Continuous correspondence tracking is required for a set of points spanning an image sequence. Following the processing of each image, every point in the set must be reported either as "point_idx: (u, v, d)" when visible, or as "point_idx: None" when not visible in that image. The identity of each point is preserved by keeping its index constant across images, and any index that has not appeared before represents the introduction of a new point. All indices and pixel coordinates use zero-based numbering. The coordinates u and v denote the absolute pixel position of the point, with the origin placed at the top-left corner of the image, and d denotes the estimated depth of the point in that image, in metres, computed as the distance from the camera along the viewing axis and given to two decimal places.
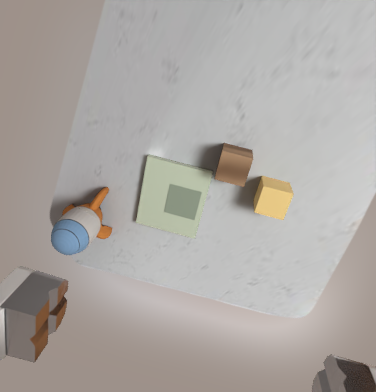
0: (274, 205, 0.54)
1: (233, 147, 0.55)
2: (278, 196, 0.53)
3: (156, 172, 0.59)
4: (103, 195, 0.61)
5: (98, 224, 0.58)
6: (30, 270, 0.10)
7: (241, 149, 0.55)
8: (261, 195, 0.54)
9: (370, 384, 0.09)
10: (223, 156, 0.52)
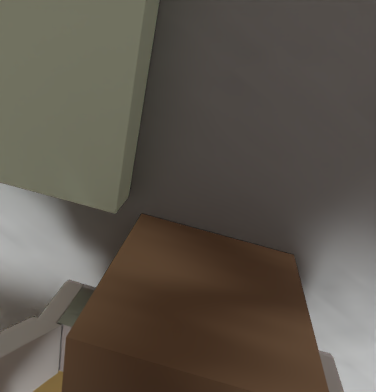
0: None
1: None
2: None
3: None
4: None
5: None
6: (79, 283, 0.09)
7: None
8: None
9: None
10: None
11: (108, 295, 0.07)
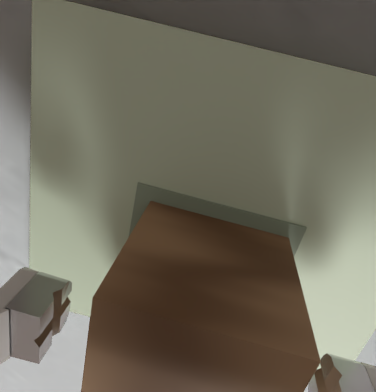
0: None
1: None
2: None
3: None
4: None
5: None
6: (34, 271, 0.10)
7: None
8: None
9: (366, 383, 0.09)
10: (273, 365, 0.07)
11: (125, 266, 0.08)
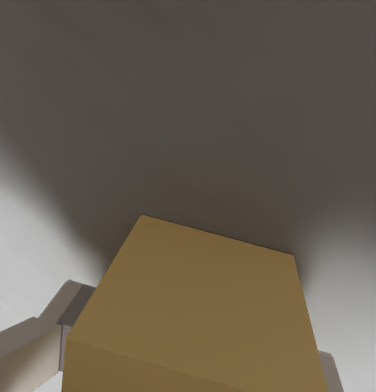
0: None
1: None
2: None
3: None
4: None
5: None
6: (79, 283, 0.09)
7: None
8: None
9: None
10: None
11: None
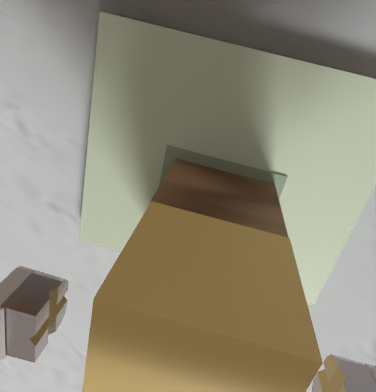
0: None
1: None
2: None
3: (342, 127, 0.14)
4: None
5: None
6: (30, 270, 0.10)
7: None
8: (240, 345, 0.07)
9: (370, 384, 0.09)
10: None
11: (166, 189, 0.13)
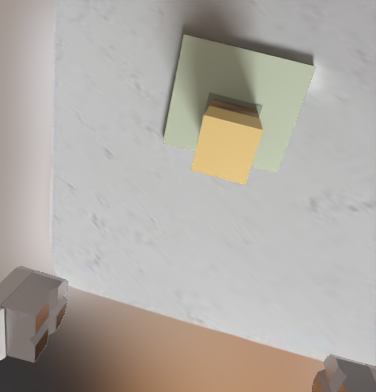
0: (220, 153, 0.28)
1: None
2: (240, 158, 0.28)
3: (284, 82, 0.34)
4: None
5: None
6: (30, 270, 0.10)
7: None
8: (242, 126, 0.27)
9: (370, 384, 0.09)
10: None
11: (213, 104, 0.33)
